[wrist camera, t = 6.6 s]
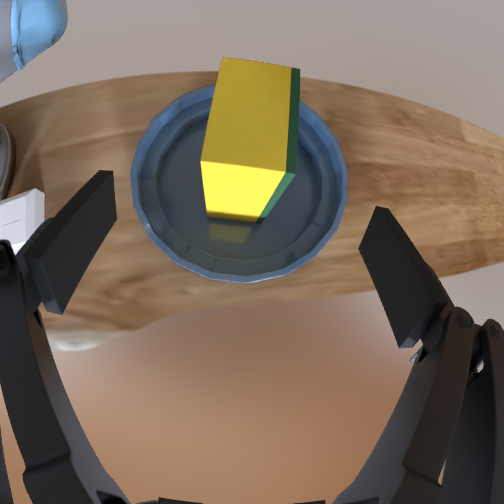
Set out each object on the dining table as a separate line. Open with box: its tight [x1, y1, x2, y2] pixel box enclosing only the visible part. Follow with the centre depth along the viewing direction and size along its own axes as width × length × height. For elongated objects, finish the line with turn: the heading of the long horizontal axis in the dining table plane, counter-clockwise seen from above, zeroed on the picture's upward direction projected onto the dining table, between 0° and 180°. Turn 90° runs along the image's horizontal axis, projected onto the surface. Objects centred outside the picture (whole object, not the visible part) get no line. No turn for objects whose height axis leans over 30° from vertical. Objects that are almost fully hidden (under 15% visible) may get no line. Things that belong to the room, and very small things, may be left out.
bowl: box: [130, 84, 347, 284], centre depth 23 cm, size 17×17×4 cm
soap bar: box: [0, 188, 45, 255], centre depth 21 cm, size 5×9×3 cm, turn 10°
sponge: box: [200, 58, 300, 224], centre depth 19 cm, size 4×7×11 cm, turn 174°
